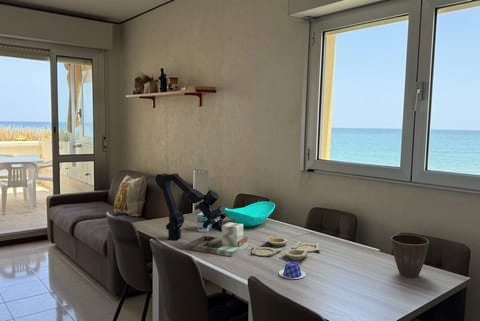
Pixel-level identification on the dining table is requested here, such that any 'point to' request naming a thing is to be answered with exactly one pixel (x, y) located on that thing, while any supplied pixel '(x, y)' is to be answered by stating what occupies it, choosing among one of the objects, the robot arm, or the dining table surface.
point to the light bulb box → (200, 223)
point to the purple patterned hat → (292, 271)
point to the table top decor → (251, 213)
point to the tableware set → (294, 253)
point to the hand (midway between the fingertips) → (224, 232)
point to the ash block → (232, 233)
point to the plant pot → (409, 254)
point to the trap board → (216, 245)
